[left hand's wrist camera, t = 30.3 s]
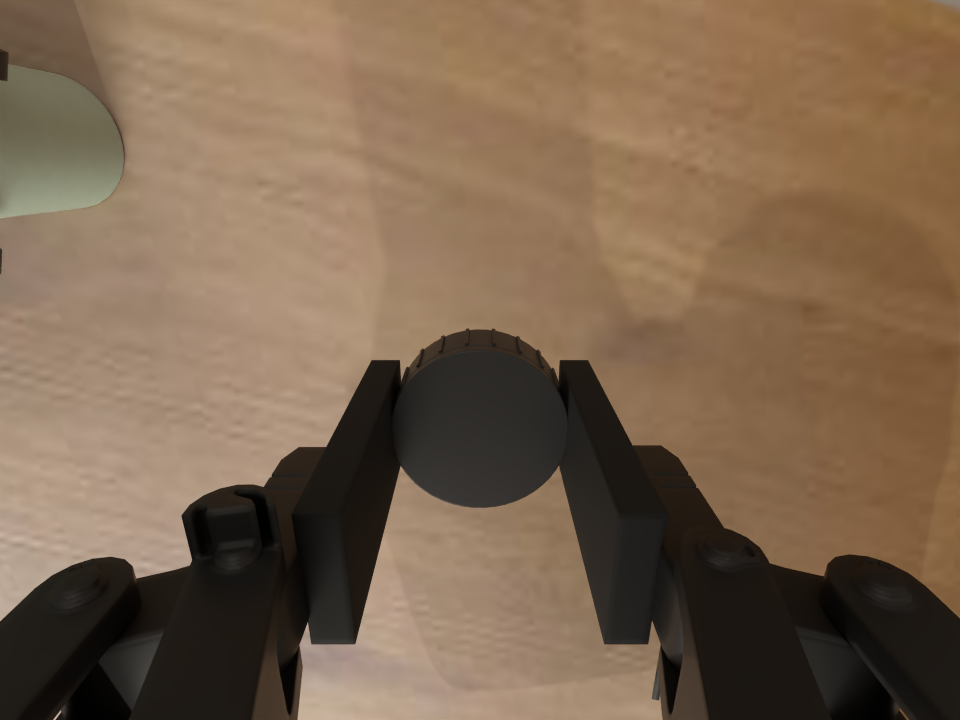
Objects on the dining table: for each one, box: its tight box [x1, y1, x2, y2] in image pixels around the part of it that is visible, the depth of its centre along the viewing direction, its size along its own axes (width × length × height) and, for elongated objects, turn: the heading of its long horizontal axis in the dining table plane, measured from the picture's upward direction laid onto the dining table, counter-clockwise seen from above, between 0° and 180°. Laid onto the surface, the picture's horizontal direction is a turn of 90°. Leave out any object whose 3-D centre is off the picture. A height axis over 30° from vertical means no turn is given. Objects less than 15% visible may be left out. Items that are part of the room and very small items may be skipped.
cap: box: [392, 329, 568, 508], centre depth 14 cm, size 4×4×2 cm
